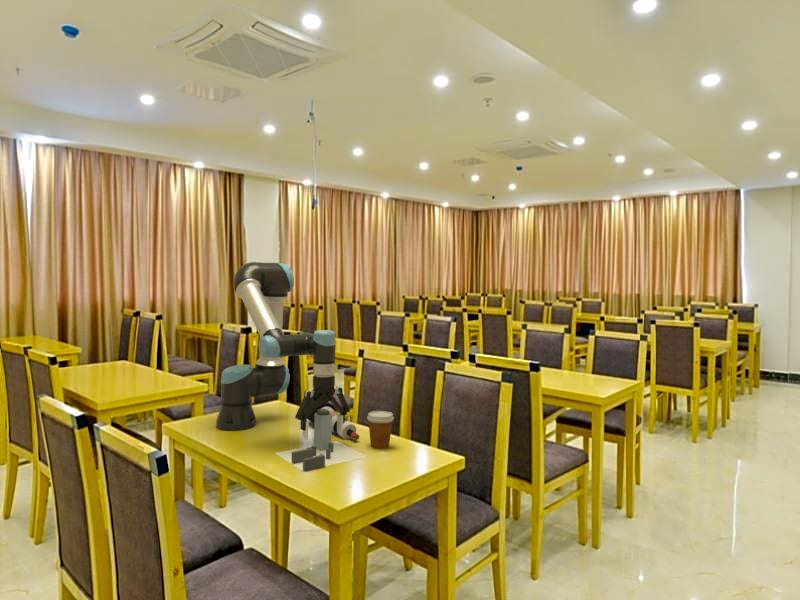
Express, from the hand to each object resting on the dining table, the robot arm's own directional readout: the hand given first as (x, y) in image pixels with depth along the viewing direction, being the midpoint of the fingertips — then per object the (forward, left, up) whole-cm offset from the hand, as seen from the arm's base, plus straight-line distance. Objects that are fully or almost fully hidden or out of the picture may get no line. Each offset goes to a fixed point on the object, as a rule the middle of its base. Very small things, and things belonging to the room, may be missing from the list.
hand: (323, 436), depth 188 cm
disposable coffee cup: (+9, +18, -5) cm, 21 cm away
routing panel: (+6, -4, -5) cm, 8 cm away
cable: (-16, +14, -5) cm, 22 cm away
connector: (0, 0, -4) cm, 4 cm away
